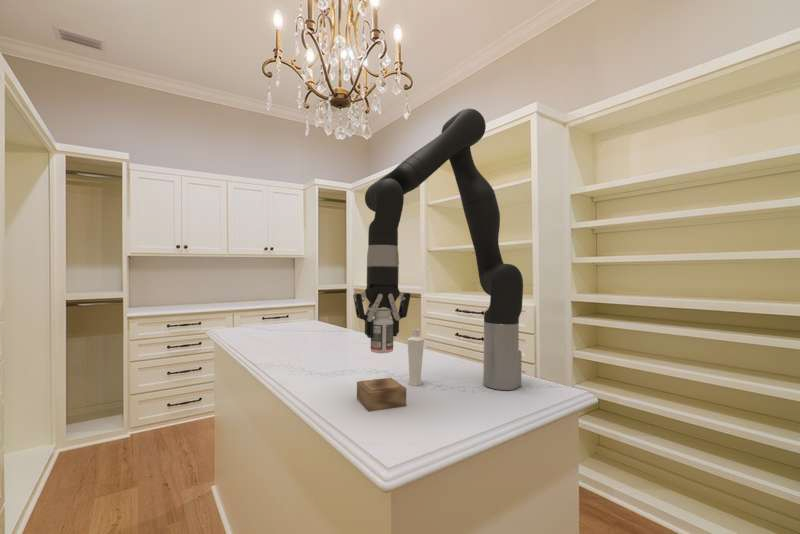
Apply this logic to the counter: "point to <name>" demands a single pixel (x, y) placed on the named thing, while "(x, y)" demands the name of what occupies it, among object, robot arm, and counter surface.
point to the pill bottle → (382, 332)
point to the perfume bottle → (415, 357)
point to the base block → (381, 394)
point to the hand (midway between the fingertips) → (381, 336)
